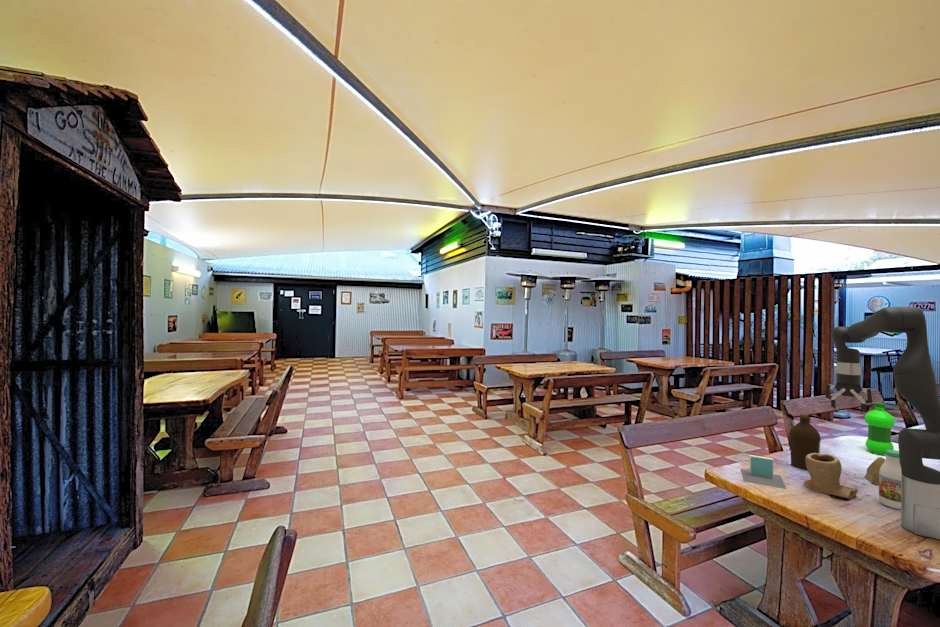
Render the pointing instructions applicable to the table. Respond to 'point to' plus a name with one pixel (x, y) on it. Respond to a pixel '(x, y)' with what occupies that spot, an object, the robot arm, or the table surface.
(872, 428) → the plastic bottle
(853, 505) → the table surface
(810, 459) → the tan hollow piece
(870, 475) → the rock
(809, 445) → the olive oil
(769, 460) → the tile
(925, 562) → the table surface
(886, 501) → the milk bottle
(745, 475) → the mat
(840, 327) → the robot arm
